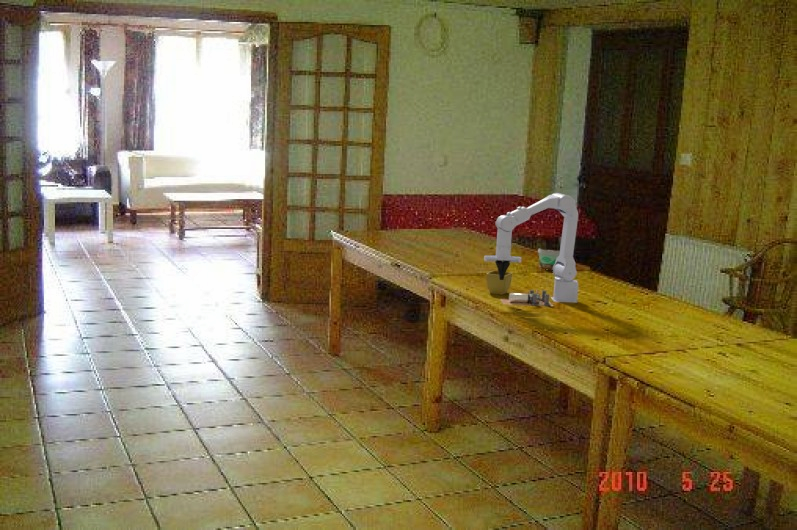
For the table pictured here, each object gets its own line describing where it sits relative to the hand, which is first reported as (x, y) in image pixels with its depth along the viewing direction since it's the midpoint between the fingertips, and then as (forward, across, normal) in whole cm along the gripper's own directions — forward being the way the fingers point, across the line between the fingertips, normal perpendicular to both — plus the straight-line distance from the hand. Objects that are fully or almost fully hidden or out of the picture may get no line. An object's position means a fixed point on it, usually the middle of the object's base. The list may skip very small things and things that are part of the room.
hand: (501, 279), depth 328 cm
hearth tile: (+9, +11, 0) cm, 14 cm away
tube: (+9, +10, 0) cm, 13 cm away
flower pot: (+10, +2, +16) cm, 19 cm away
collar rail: (+9, +16, 0) cm, 18 cm away
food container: (+10, +35, +74) cm, 82 cm away
